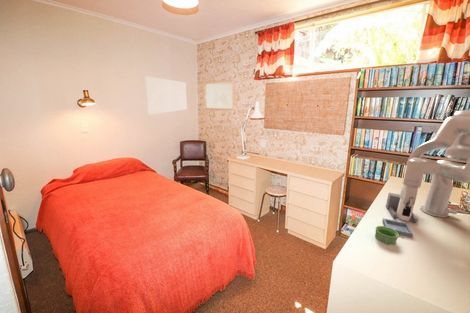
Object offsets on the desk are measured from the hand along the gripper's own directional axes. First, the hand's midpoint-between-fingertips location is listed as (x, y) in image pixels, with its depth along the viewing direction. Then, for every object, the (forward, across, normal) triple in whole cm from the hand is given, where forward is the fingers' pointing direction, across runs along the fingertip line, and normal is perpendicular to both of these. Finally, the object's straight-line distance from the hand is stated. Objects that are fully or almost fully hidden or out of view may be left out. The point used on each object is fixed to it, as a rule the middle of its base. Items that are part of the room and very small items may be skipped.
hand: (404, 212), depth 123 cm
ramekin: (+4, +29, -13) cm, 32 cm away
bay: (+3, -4, 0) cm, 5 cm away
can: (+3, 0, 0) cm, 3 cm away
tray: (+3, +16, -6) cm, 17 cm away
